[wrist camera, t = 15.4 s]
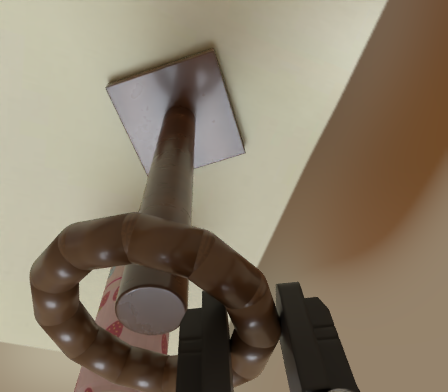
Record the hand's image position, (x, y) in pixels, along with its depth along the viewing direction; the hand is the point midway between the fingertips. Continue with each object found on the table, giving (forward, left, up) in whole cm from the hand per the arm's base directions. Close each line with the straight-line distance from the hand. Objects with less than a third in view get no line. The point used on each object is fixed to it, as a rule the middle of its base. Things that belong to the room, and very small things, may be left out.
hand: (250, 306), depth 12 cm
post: (+3, -1, -19) cm, 19 cm away
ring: (+3, -1, 0) cm, 3 cm away
